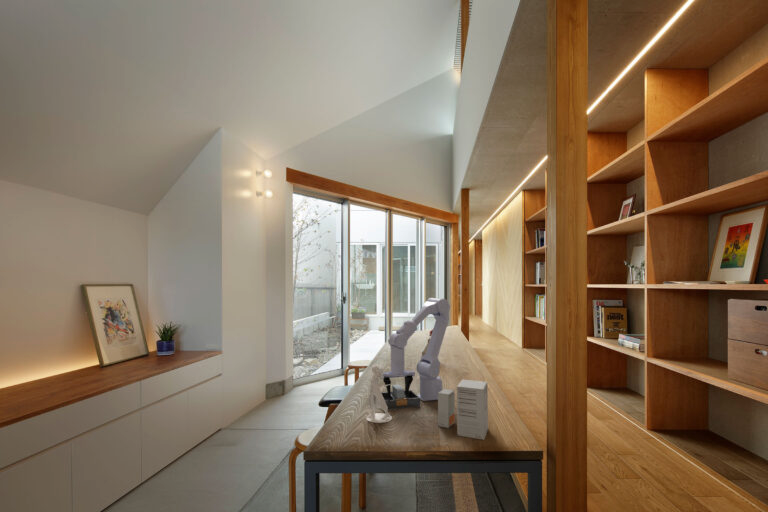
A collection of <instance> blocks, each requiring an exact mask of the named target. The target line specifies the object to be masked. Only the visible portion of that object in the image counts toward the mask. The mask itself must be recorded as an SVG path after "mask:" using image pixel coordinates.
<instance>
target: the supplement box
mask: <svg viewBox="0 0 768 512" xmlns="http://www.w3.org/2000/svg"><path fill="white" fill-rule="evenodd" d="M488 396H489V395H488V382H487V381H484V380H483V381H480V380H471V379H461V381H460V382H459V383H458V384H457V385H456V423H457V424H456V426H457V428H456V429H457V431H456V434H457V437H458V436H460V437H463V438H464V437H465V438H472V439H479V440H485V438H486V437H487V433H488V430H489V414H488V413H489V411H488V407H489V406H488V405H489V403H488V402H489V401H488V398H489V397H488Z"/></svg>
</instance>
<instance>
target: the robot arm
mask: <svg viewBox="0 0 768 512" xmlns="http://www.w3.org/2000/svg"><path fill="white" fill-rule="evenodd" d="M450 310H451V305H450V304H449V301H448V300H447V299H445V298H435V297H429V298H428V299H427V300H426V301H425V302H424V303H423V306H422V307H421V309H420V310H419V311H418V312H416V314H415V315H414V317H413V318H412V319H411V320H410V319H409V320H405V321H403V323H402V325H401V326H400V327H399V329H396V332H393V333H391V334H390V335H389V338H388V339H387V341H388V342H387V343H388V344H389V346H390V371H386V372H383V377H384V378H382V381H383V382H384V386H385V385H388V386H385V388H386V392H388V395H389V396H391V392H392V391H391V386H392V384H391V383H392V380H391V379H392V378H393V379H394V378H404V391H405V393H406V394H408V392H409V390H410V387H411V385H412V382H413V381H414V377H416V372H415V370H405V347H406V346H407V344H408V340H409V339H410V338H411V337H413V336H412V335H413V334H415V333H416V331H417V330H418V325H419V324H421V323H422V322H423V321H424V320H425V319H426V318H427V317H428V316H429V315H431V316H433V317H434V319H435V322H434V325H433V329H432V332H431V335H430V339H429V342H428V345H427V347H426V348H427V349H426V352H425V353H424V355H422V356H421V357H420V360H419V361H418V362H417V364H416V371H417V373H418V376H419V393H416V394H417V395H418V396H419V397H420V401H422V402H423V401H424V402H425V401H427V402H428V401H438V393H439V392H440V391H441V390H443V381H442V378H441V377H440V376H439V375H440V365H441V362H440V360H439V358H438V357H439V353H440V351H441V346H442V344H443V340H444V338H445V334H446V331H447V328H448V323H449V320H450V316H449V315H450V314H449V313H450ZM389 384H391V385H389Z"/></svg>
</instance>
